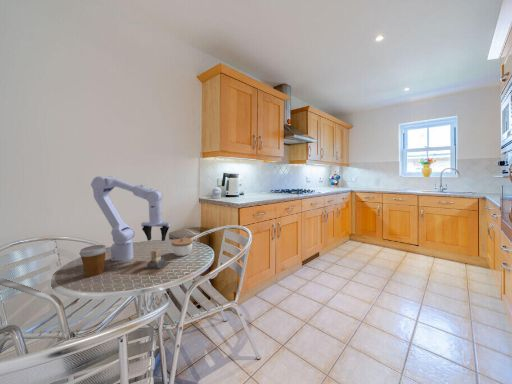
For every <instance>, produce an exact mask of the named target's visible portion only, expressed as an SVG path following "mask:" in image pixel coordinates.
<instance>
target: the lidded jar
mask: <svg viewBox="0 0 512 384" xmlns="http://www.w3.org/2000/svg"><path fill="white" fill-rule="evenodd" d="M171 249H172V253H173V254H174V255H175V256H177V257H184V256H187V255H189V254H190V253H191V252H192V249H193V239H191V238H185V237H181V238H176V239H175V240H172V241H171Z"/></svg>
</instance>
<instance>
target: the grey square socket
mask: <svg viewBox="0 0 512 384" xmlns="http://www.w3.org/2000/svg"><path fill="white" fill-rule="evenodd" d="M148 261H149V262H148V263H147V266H146V267H145V269H160V268H162V267H163V266H164V265H165V264H166V263H167V262H168V261H165V257H161V260H160V261H158V262H157V263H152V262H151V260H148Z"/></svg>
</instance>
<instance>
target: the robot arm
mask: <svg viewBox="0 0 512 384" xmlns="http://www.w3.org/2000/svg"><path fill="white" fill-rule="evenodd" d="M90 186H91V188H92V191H93V198H94V200H95V202H96V203H97V205H98V206H99V208H100V210H101V212H102V214H103V215H104V217H105V219H106V220H107V221H108V223H109V225H110V226H111V228H112V229H111V232H110V234H111V236H112V241H113V243H112V245H111V246H110V261H118V262H124V261H125V262H126V261H129V260H132V259H134V242H133V238H134V237H135V235H136V232H135V230H134V229H133V228H131V227H130V226H129V224H127V223H125V222H124V221H123V219H122V218H121V216H120V214H119V212H118V211H117V209H116V207H115V206H114V204H113V202H112V201H111V198H110V197H109V195H110V193H111V192H112V191H113V189H114V188H119V189H122V190H126V191H128V192H131V193H132V194H133V196H136V197H137V198H141V199H143V200H146V201H147V202H148V217H149V219H148V220H149V221H146V222H145V221H143V222H141V223H140V226H141V227H142V229H141V230H142V231H143V233H144V234H145V236H146V239H147V241H151V240H152V228H155V227H157V228H159V227H160V228H159V230H160V232H161V241H162V242H163V241H166V237H167V234H168V231H169V229H170V228H171V222H167V221H166V222H165V221H163V220H162V218H163V216H162V199H163V194H162V192H161V191H160V190H158V189H157V190H155V189H153V188H148V187H145V185H144V184H137V185H135V184H131V183H129V182H127V181H125V180H122V179H120V178H117V177H113V176H111V175H110V176H96V177H94V178H92V181H91V183H90Z"/></svg>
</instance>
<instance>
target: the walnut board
mask: <svg viewBox="0 0 512 384" xmlns="http://www.w3.org/2000/svg"><path fill="white" fill-rule="evenodd" d="M149 261H150V260H135V261H134V262H132V263H131V264H129V265H128V266H126V267H125V268H123V269H121V270H120V271H118V272H116V274H117V275H150V276H153V275H154V276H157V275H159V274H160V272H162V271H163V270H164V269H165V268H166V267H168V265H169V264H171V263H172V261H166V262H167V263H166V264H165V265H164V266H163V267H162V268H160V269H145V267H146V266H147V263H148V262H149Z"/></svg>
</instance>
